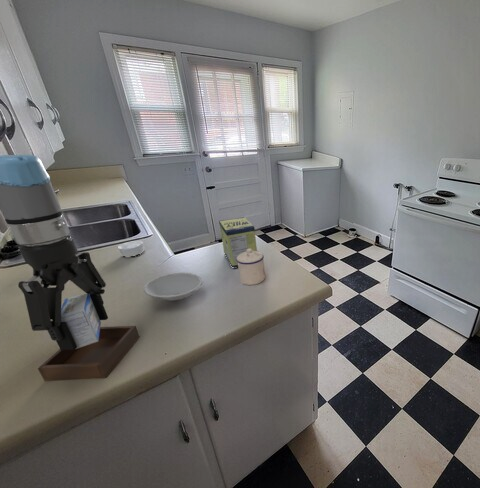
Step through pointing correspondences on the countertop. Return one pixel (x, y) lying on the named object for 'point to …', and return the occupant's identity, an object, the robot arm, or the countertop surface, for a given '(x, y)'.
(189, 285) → the dish
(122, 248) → the ramekin
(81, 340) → the medicine box
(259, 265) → the teacup with lid
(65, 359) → the holder
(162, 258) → the countertop surface
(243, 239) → the protein box
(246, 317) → the countertop surface
